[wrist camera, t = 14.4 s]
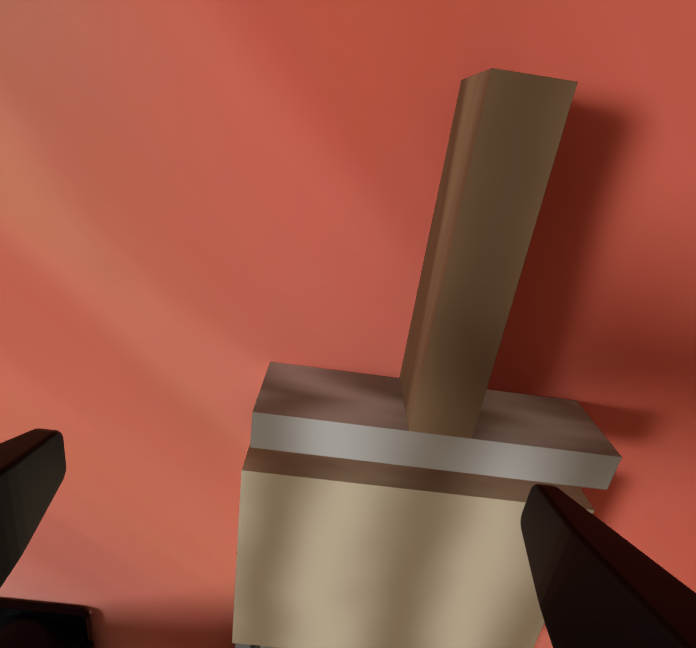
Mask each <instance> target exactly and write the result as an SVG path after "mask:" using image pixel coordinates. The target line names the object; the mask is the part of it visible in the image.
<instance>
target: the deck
mask: <svg viewBox="0 0 696 648" xmlns="http://www.w3.org/2000/svg"><path fill="white" fill-rule="evenodd" d="M535 484H544V485H553V486H556V487H558V488H559V489H560V490H562V491H563V492H564V493H566V494H567V495H568V496H569V497H571V498H572V499H573V500H575V501H576V502H577V503H579V504H580V505H581V506H582V507H584V508H585V509H586V510H588V511H589V512H590V513H592V514H593V513H594V509H593V507H592V505H591V504H590V502H589V500H588V499H587V497H586V496H585V494H584V492H583V491H582V489H581V488H580V487H579V486H571V485H562V484H554V483H546V482H537V481H529V480H520V479H512V478H504V477H495V476H487V475H479V474H470V473H462V472H453V471H445V470H437V469H428V468H420V467H411V466H403V465H395V464H386V463H378V462H370V461H361V460H353V459H344V458H336V457H328V456H319V455H311V454H302V453H294V452H286V451H277V450H269V449H261V448H252V447H250V446H249V449H248V452H247V455H246V459H245V462H244V465H243V468H242V474H241V492H240V509H239V527H238V545H237V562H236V580H235V598H234V616H233V633H232V643H239V644H249V645H259V646H269V647H280V648H533V647H534V645H535V643H536V640H537V638H538V636H539V634H540V631H541V629H542V627H543V625H544V619H543V616H542V613H541V610H540V606H539V603H538V599H537V595H536V591H535V587H534V582H533V578H532V574H531V570H530V565H529V561H528V557H527V552H526V548H525V544H524V540H523V535H522V531H521V524H520V520H521V514H522V511H523V509H524V506H525V503H526V500H527V497H528V495H529V492H530V489H531V487H532V486H533V485H535Z"/></svg>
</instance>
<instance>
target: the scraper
mask: <svg viewBox="0 0 696 648" xmlns="http://www.w3.org/2000/svg"><path fill="white" fill-rule="evenodd" d="M576 86H577V82H576V81H569V80H563V79H557V78H550V77H544V76H538V75H532V74H525V73H519V72H513V71H506V70H500V69H494V68H491V69H489V70H486V71H484V72H481V73H478V74H476V75H473V76H471V77H468V78H466V79H463V80H461V85H460V89H459V94H458V99H457V104H456V109H455V113H454V118H453V123H452V128H451V133H450V137H449V142H448V147H447V152H446V157H445V161H444V166H443V171H442V176H441V181H440V185H439V190H438V195H437V200H436V205H435V209H434V214H433V219H432V224H431V229H430V233H429V238H428V243H427V248H426V253H425V257H424V262H423V267H422V272H421V277H420V281H419V286H418V291H417V296H416V301H415V305H414V310H413V315H412V320H411V325H410V329H409V334H408V339H407V344H406V349H405V353H404V358H403V363H402V368H401V373H400V377H399V378H394V377H386V376H378V375H370V374H362V373H355V372H347V371H339V370H331V369H323V368H315V367H308V366H300V365H292V364H284V363H276V362H270V364H269V367H268V369H267V372H266V375H265V378H264V381H263V384H262V387H261V389H260V392H259V395H258V398H257V401H256V404H255V407H254V410H253V414H252V428H251V443H250V447H252V448H261V449H269V450H277V451H286V452H294V453H302V454H311V455H319V456H328V457H336V458H344V459H353V460H361V461H370V462H378V463H386V464H395V465H403V466H411V467H420V468H428V469H437V470H445V471H453V472H462V473H470V474H479V475H487V476H495V477H504V478H512V479H520V480H529V481H537V482H546V483H554V484H562V485H571V486H579V487H588V488H596V489H604V490H607V489H608V487H609V484H610V482H611V480H612V478H613V476H614V473H615V471H616V469H617V467H618V465H619V462H620V460H621V458H622V457H621V455H620V454H619V453H618V452H617V450H616V449H615V448H614V447H613V445H612V444H611V443H610V442H609V440H608V439H607V438H606V437H605V435H604V434H603V433H602V432H601V430H600V429H599V428H598V427H597V425H596V424H595V423H594V422H593V420H592V419H591V418H590V417H589V416H588V414H587V413H586V412H585V411H584V409H583V408H582V407H581V406H580V404H579V403H578V402H577V401H574V400H566V399H559V398H551V397H543V396H535V395H527V394H519V393H512V392H504V391H496V390H488V389H487V387H488V383H489V380H490V376H491V373H492V370H493V366H494V363H495V360H496V356H497V353H498V349H499V346H500V343H501V339H502V336H503V333H504V329H505V326H506V322H507V319H508V316H509V312H510V309H511V305H512V302H513V299H514V295H515V292H516V289H517V285H518V282H519V278H520V275H521V272H522V268H523V265H524V261H525V258H526V255H527V251H528V248H529V245H530V241H531V238H532V234H533V231H534V228H535V224H536V221H537V217H538V214H539V211H540V207H541V204H542V201H543V197H544V194H545V190H546V187H547V184H548V180H549V177H550V173H551V170H552V167H553V163H554V160H555V157H556V153H557V150H558V146H559V143H560V140H561V136H562V133H563V129H564V126H565V123H566V119H567V116H568V113H569V109H570V106H571V102H572V99H573V96H574V92H575V89H576Z"/></svg>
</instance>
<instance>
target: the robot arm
mask: <svg viewBox="0 0 696 648" xmlns="http://www.w3.org/2000/svg"><path fill="white" fill-rule="evenodd" d="M65 472H66V460H65V451H64V441H63V436H62V434H61V432H59V431H57V430H49V429H34V430H31V431H29V432H26V433H24V434H22V435H19V436H17V437H15V438H12V439H10V440H7V441H5V442H3V443H0V587H1V586H2V584H3V583H4V582H5V580H6V579H7V577H8V576H9V574H10V573H11V571H12V570H13V568H14V567H15V565H16V563H17V562H18V560H19V559H20V557H21V556H22V554H23V552H24V550H25V549H26V547H27V545H28V544H29V542H30V540H31V538H32V536H33V534H34V532H35V531H36V529H37V527H38V525H39V523H40V521H41V520H42V518H43V516H44V514H45V512H46V510H47V508H48V507H49V505H50V503H51V501H52V499H53V497H54V495H55V494H56V492H57V490H58V488H59V486H60V484H61V483H62V481H63V478H64V476H65ZM520 524H521V531H522V535H523V540H524V544H525V548H526V552H527V557H528V561H529V565H530V570H531V574H532V578H533V582H534V587H535V591H536V595H537V599H538V603H539V606H540V610H541V613H542V616H543V619H544V622H545V625H546V628H547V631H548V634H549V637H550V640H551V643H552V646H553V648H696V593H695V592H694V591H692V590H691V589H690V588H688V587H687V586H686V585H684V584H683V583H682V582H680V581H679V580H678V579H677V578H675V577H674V576H673V575H671V574H670V573H669V572H667V571H666V570H665V569H663V568H662V567H661V566H660V565H658V564H657V563H656V562H654V561H653V560H652V559H650V558H649V557H648V556H647V555H645V554H644V553H643V552H641V551H640V550H639V549H637V548H636V547H635V546H633V545H632V544H631V543H630V542H628V541H627V540H626V539H624V538H623V537H622V536H620V535H619V534H618V533H616V532H615V531H614V530H613V529H611V528H610V527H609V526H607V525H606V524H605V523H603V522H602V521H601V520H599V519H598V518H597V517H596V516H594V515H593V514H592V513H590V512H589V511H588V510H586V509H585V508H584V507H582V506H581V505H580V504H579V503H577V502H576V501H575V500H573V499H572V498H571V497H569V496H568V495H567V494H566V493H564V492H563V491H562V490H560V489H559V488H558V487H556V486H553V485H544V484H535V485H533V486H532V487H531V489H530V492H529V495H528V497H527V500H526V503H525V506H524V509H523V511H522V514H521V520H520ZM0 648H95V644H94V642H93V639H92V631H91V623H90V615H89V613H88V612H87V611H86V610H84V609H80V608H71V607H61V606H51V605H41V604H31V603H20V602H10V601H0Z"/></svg>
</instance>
